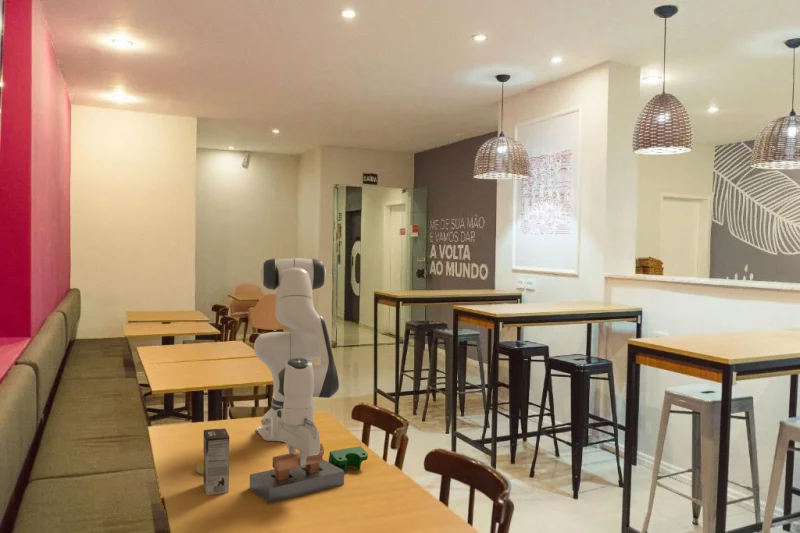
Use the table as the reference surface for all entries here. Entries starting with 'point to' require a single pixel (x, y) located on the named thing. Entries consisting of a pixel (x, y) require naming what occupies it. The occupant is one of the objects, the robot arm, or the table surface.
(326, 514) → the table surface
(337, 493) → the table surface
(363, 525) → the table surface
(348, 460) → the clamp
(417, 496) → the table surface
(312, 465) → the wooden bridge block
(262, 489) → the cinder block
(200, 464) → the bread roll
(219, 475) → the coffee box
